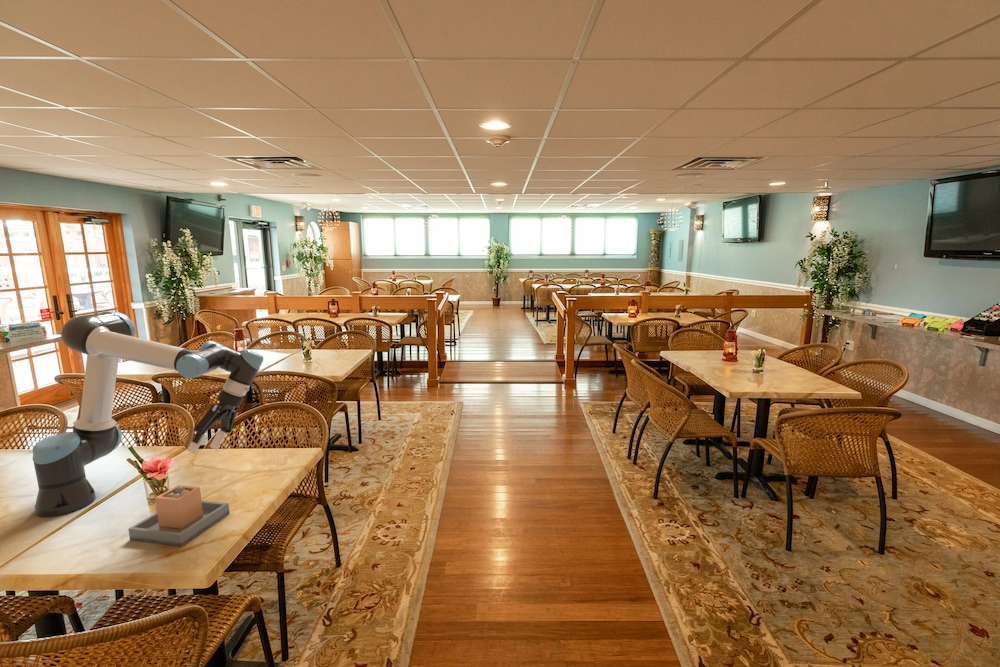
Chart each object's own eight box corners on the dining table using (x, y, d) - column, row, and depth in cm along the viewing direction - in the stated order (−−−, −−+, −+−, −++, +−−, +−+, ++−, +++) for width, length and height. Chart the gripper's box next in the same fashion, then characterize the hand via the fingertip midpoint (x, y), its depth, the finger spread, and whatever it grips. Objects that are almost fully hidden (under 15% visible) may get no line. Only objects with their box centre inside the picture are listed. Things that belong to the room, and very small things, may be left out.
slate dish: (130, 539, 139) (128, 528, 138) (182, 508, 156) (180, 498, 156) (182, 546, 135) (180, 535, 135) (229, 513, 153) (228, 503, 152)
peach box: (159, 528, 143) (154, 494, 141) (181, 514, 150) (177, 482, 149) (181, 531, 141) (177, 496, 139) (203, 517, 149) (199, 484, 147)
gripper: (224, 396, 153) (191, 458, 150) (259, 397, 178) (231, 451, 175) (203, 386, 154) (169, 448, 150) (240, 389, 178) (212, 442, 175)
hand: (202, 450), depth 162 cm, fingers open, 13 cm apart
